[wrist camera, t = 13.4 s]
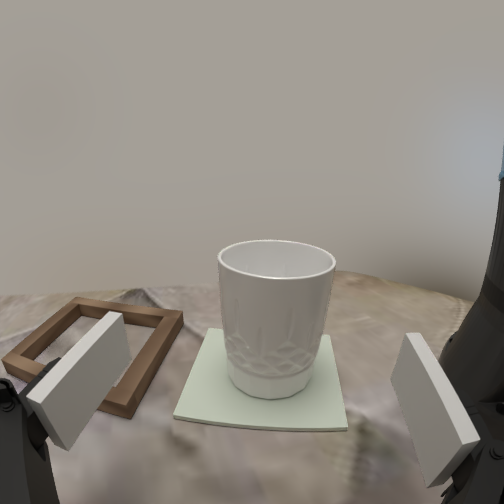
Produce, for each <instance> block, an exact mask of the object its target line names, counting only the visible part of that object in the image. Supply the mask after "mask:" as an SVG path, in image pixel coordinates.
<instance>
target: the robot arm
mask: <svg viewBox="0 0 504 504" xmlns="http://www.w3.org/2000/svg"><path fill="white" fill-rule="evenodd" d="M499 181H501V182H500V193H499V202H498V210H497V218H496V224H495V231H494V236H493V242H492V247H491V252H490V256H489V261H488V265H487V269H486V274H485V277H484V281H483V285H482V288H481V292H480V295H479V297H478V298H477V300H476V302H475V303H474V305H473V306H472V308H471V309H470V311H469V312H468V314H467V316H466V317H465V319H464V320H463V322H462V324H461V326H460V328H459V330H458V331H457V332H455V333H454V334H453V335H452V336H451V337H450V338H449V340H448V341H447V342H446V344H445V346H444V348H443V350H442V353H441V355H440V358H439V360H438V361H437V359H436V358H435V356H434V355H433V353H432V351H431V350H430V348H429V347H428V345H427V343H426V342H425V340H424V339H423V337H422V336H421V334H420V333H405V337H404V340H403V343H402V346H401V350H400V353H399V356H398V359H397V362H396V365H395V368H394V370H393V373H392V376H391V382H392V384H393V387H394V390H395V392H396V395H397V398H398V401H399V403H400V406H401V409H402V412H403V415H404V418H405V420H406V423H407V426H408V429H409V432H410V435H411V438H412V441H413V444H414V448H415V451H416V454H417V457H418V460H419V464H420V467H421V470H422V474H423V477H424V481H425V484H426V488H430V487H434V486H437V485H441V484H444V483H445V482H446V481H447V480H448V479H449V477H450V476H452V479H453V483H452V484H451V485H450V486H449V487H448V488H447V489H446V490H445V491H444V492H443V493H442V495H441V497H443V496H444V495H445V494H446V495H445V497H444V499H443V501H442V503H441V504H504V147H503V159H502V168H501V172H500V174H499ZM131 360H132V358H131V353H130V349H129V344H128V340H127V335H126V330H125V325H124V320H123V314H122V313H117V312H111V311H109V312H108V313H107V314H106V315H105V316H104V317H103V318H102V319H101V320H100V321H99V322H98V323H97V324H96V325H95V326H94V327H93V328H92V329H91V330H90V331H89V332H88V333H87V334H85V335H84V336H83V337H82V338H81V339H80V340H79V341H78V342H77V343H76V344H75V345H74V346H73V348H72V349H71V350H70V351H69V352H68V353H67V354H66V355H65V356H64V357H63V358H59V357H58V358H57V359H55V360H53V361H51V362H49V363H48V364H47V365H46V366H45V367H44V368H43V369H42V371H40V372H39V373H38V374H37V377H35V378H34V379H33V380H32V381H31V382H30V383H29V384H28V385H27V386H26V387H25V388H24V389H23V390H22V391H21V392H20V393H19V394H17V392H16V390H15V388H14V386H13V384H12V383H11V381H10V380H8V379H5V378H0V504H60V502H59V499H58V495H57V491H56V486H55V482H54V477H53V473H52V468H51V462H50V457H49V451H48V445H47V443H46V441H45V440H46V438H47V437H48V436H49V437H50V439H51V440H52V442H53V443H54V445H56V446H58V447H60V448H62V449H64V450H67V451H69V450H70V449H71V447H72V446H73V444H74V443H75V441H76V439H77V438H78V436H79V435H80V433H81V432H82V430H83V429H84V427H85V426H86V425H87V423H88V422H89V420H90V419H91V417H92V416H93V414H94V413H95V411H96V410H97V408H98V407H99V405H100V404H101V402H102V401H103V400H104V398H105V397H106V395H107V394H108V392H109V391H110V389H111V388H112V387H113V385H114V384H115V382H116V381H117V379H118V378H119V377H120V375H121V374H122V372H123V371H124V369H125V368H126V367H127V365H128V364H129V362H130V361H131Z"/></svg>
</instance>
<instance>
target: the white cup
mask: <svg viewBox="0 0 504 504" xmlns="http://www.w3.org/2000/svg"><path fill="white" fill-rule="evenodd" d="M335 267H336V260H335V258H334V257H333V256H332V255H331V254H330V253H329V252H327V251H325V250H323V249H321V248H318V247H315V246H312V245H308V244H304V243H299V242H293V241H283V240H255V241H246V242H241V243H237V244H233V245H230V246H228V247H226V248H224V249H222V250H221V251H220V252H219V254H218V270H219V287H220V302H221V316H222V325H223V334H224V343H225V348H226V352H227V368H228V375H229V377H230V378H231V380H232V382H233V384H234V386H235V387H237V388H238V389H240V390H242V391H243V392H245V393H246V394H248V395H250V396H254V397H259V398H264V399H278V398H285V397H290V396H292V395H294V394H295V393H297V392H299V391H301V390H303V389H304V388H305V386H306V385H307V383H308V381H309V380H310V378H311V376H312V372H313V367H314V363H315V358H316V356H317V353H318V350H319V347H320V342H321V337H322V334H323V330H324V326H325V321H326V316H327V311H328V306H329V301H330V295H331V290H332V284H333V279H334V273H335Z"/></svg>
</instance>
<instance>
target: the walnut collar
mask: <svg viewBox="0 0 504 504" xmlns="http://www.w3.org/2000/svg"><path fill="white" fill-rule="evenodd" d="M109 311H111V312H117V313H122V314H123V320H124V323H128V324H135V325H141V326H148V327H155V328H156V329H155V330H154V332H153V333H152V335H151V336H150V338H149V339H148V341H147V342H146V344H145V345H144V346H143V348H142V349H141V351H140V352H139V354H138V355H137V357H136V358H135V360H134V361H133V363H132V364H131V366H130V367H129V369H128V370H127V372H126V373H125V375H124V376H123V378H122V379H121V381H120V382H119V384H118V385H117V387H112V388H111V389H110V391H109V392H108V394H107V395H106V397H105V398H104V400H103V401H102V402H101V404H100V405H99V407H98V408H97V409H98V410H101V411H104V412H108V413H111V414H114V415H118V416H121V417H125V418H129V419H131V418H132V416H133V414H134V412H135V410H136V408H137V407H138V405H139V403H140V401H141V399H142V397H143V395H144V394H145V392H146V390H147V388H148V386H149V385H150V383H151V381H152V379H153V377H154V375H155V374H156V372H157V370H158V368H159V366H160V365H161V363H162V361H163V359H164V357H165V356H166V354H167V352H168V350H169V348H170V347H171V345H172V343H173V341H174V340H175V338H176V336H177V334H178V332H179V331H180V329H181V327H182V325H183V324H184V321H183V311H178V310H169V309H160V308H151V307H143V306H135V305H128V304H121V303H113V302H107V301H100V300H93V299H87V298H81V297H75V298H74V299H73V300H71V301H70V302H69V303H68V304H66V305H65V306H64V307H63V308H61V309H60V310H59V311H58V312H56V313H55V314H54V315H53V316H51V317H50V318H49V319H48V320H47V321H45V322H44V323H43V324H42V325H41V326H39V327H38V328H37V329H36V330H35V331H33V332H32V333H31V334H30V335H29V336H27V337H26V338H25V339H24V340H23V341H22V342H21V343H19V344H18V345H17V346H16V347H15V348H14V349H12V350H11V351H10V352H9V353H8V354H7V355H6V356H5V357H3V358H2V359H1V360H2V362H3V365H4V367H5V369H6V371H7V373H9V374H11V375H13V376H15V377H17V378H19V379H21V380H24V381H26V382H28V383H30V382H31V381H32V380H33V379H34V378H35V377H37V374H38V373H39V372H40V371H42V369H43V368H44V367H45V366H46V365H43V364H40V363H38V362H35V361H33V360H34V359H35V358H36V357H37V356H38V355H39V354H40V353H41V352H42V351H43V350H44V349H45V348H46V347H47V346H49V345H50V344H51V343H52V342H53V341H54V340H55V339H56V338H57V337H58V336H59V335H60V334H61V333H62V332H64V331H65V330H66V329H67V328H68V327H69V326H70V325H71V324H72V323H73V322H74V321H76V320H77V319H78V318H79V317H80V316H81V315H83V316H88V317H93V318H99V319H102V318H103V317H104V316H105V315H106V314H107V313H108V312H109Z"/></svg>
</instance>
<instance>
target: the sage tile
mask: <svg viewBox="0 0 504 504" xmlns="http://www.w3.org/2000/svg"><path fill="white" fill-rule="evenodd" d="M173 417H174V418H175V419H181V420H186V421H192V422H199V423H205V424H212V425H220V426H228V427H238V428H248V429H261V430H278V431H346V430H347V428H348V424H347V418H346V413H345V408H344V402H343V397H342V392H341V387H340V382H339V377H338V372H337V367H336V363H335V358H334V353H333V349H332V344H331V340H330V335H322V337H321V342H320V347H319V350H318V353H317V356H316V358H315V363H314V367H313V372H312V376H311V378H310V380H309V381H308V383H307V385H306V386H305V388H304V389H303V390H301V391H299V392H297V393H295V394H294V395H292V396H290V397H285V398H278V399H264V398H259V397H254V396H250V395H248V394H246V393H245V392H243V391H242V390H240V389H238V388H237V387H235V386H234V384H233V382H232V380H231V378H230V377H229V375H228V368H227V352H226V348H225V343H224V334H223V329H215V328H209V329H208V331H207V334H206V336H205V339H204V341H203V343H202V346H201V348H200V351H199V353H198V355H197V358H196V360H195V363H194V365H193V368H192V370H191V372H190V375H189V377H188V380H187V382H186V384H185V387H184V389H183V392H182V394H181V397H180V399H179V402H178V404H177V406H176V409H175V411H174V414H173Z"/></svg>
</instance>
